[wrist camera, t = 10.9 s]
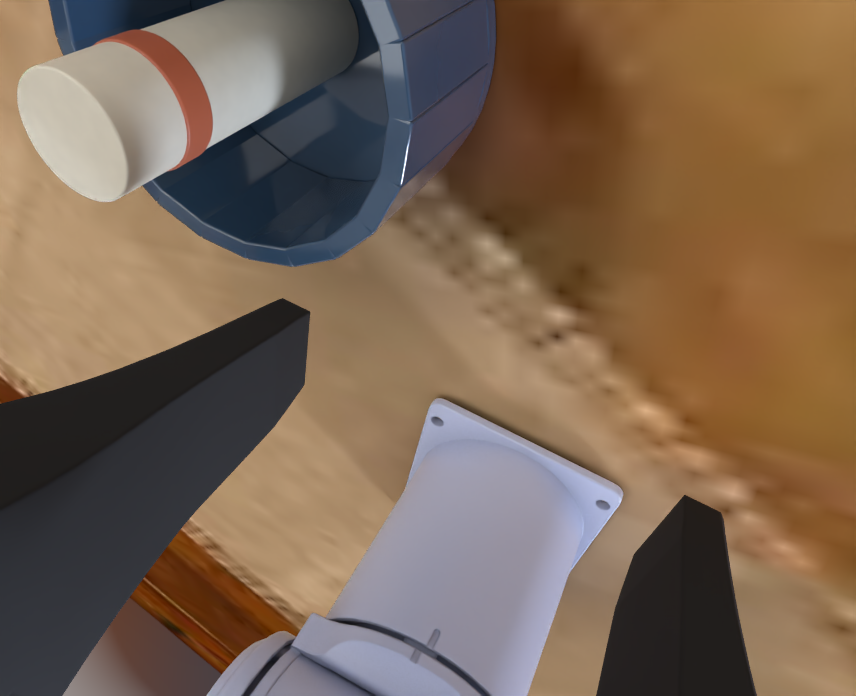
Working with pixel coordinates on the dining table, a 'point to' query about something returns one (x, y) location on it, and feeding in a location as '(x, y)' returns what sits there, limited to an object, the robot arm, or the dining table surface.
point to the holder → (324, 128)
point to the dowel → (178, 88)
